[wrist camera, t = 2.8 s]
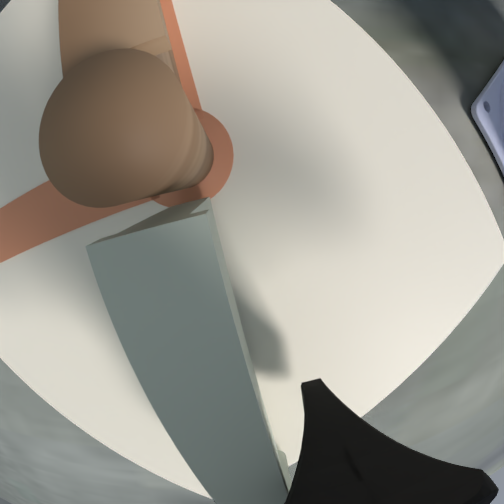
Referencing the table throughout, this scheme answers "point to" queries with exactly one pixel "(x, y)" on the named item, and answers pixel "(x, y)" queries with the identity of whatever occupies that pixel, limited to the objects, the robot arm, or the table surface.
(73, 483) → the table surface
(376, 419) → the table surface
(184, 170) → the bar
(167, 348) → the fence gate
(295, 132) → the board
